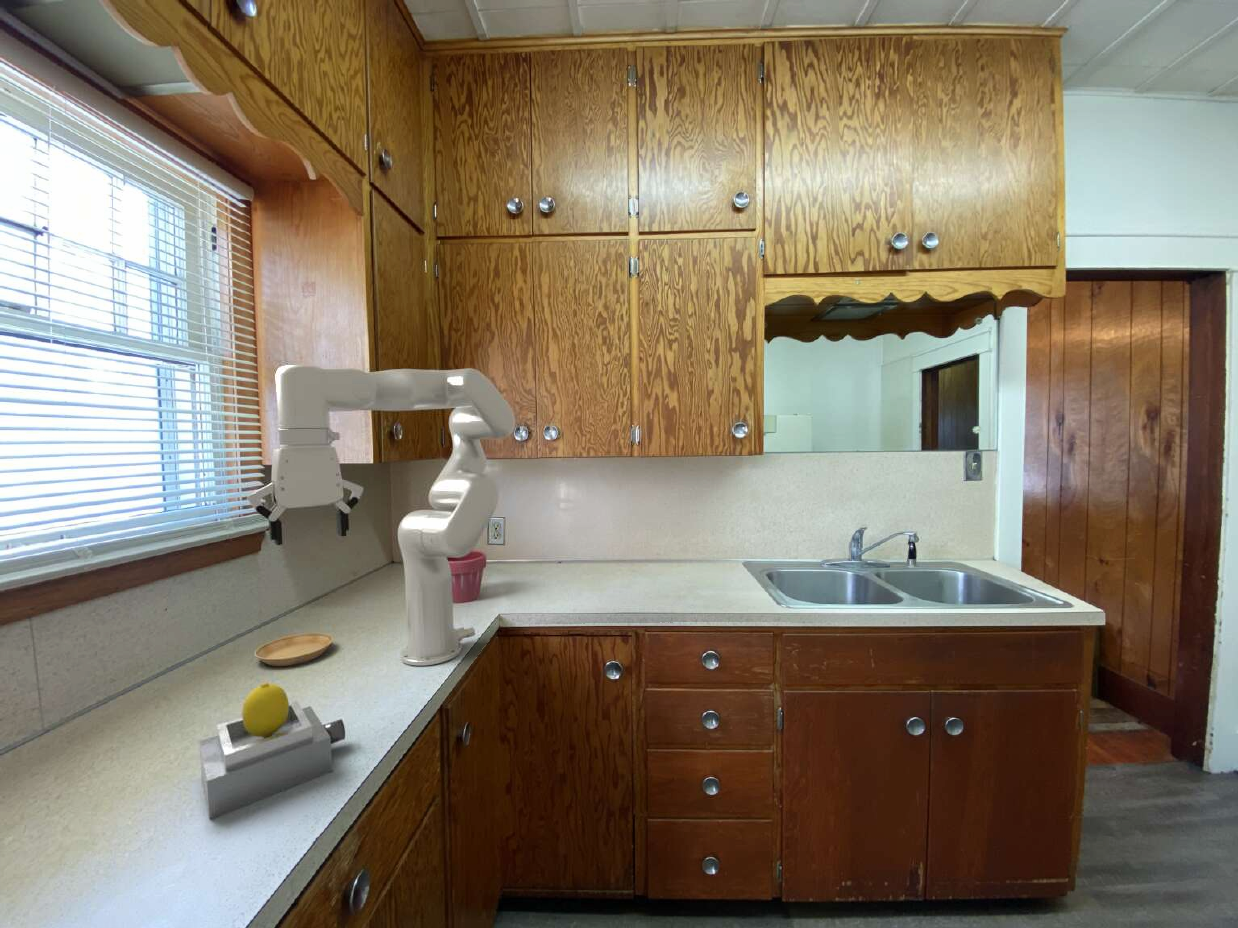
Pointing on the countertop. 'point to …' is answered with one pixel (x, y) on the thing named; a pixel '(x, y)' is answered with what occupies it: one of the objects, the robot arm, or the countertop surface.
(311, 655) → the plant saucer
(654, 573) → the countertop surface
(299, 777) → the housing
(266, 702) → the lemon
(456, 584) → the plant pot
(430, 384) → the robot arm
